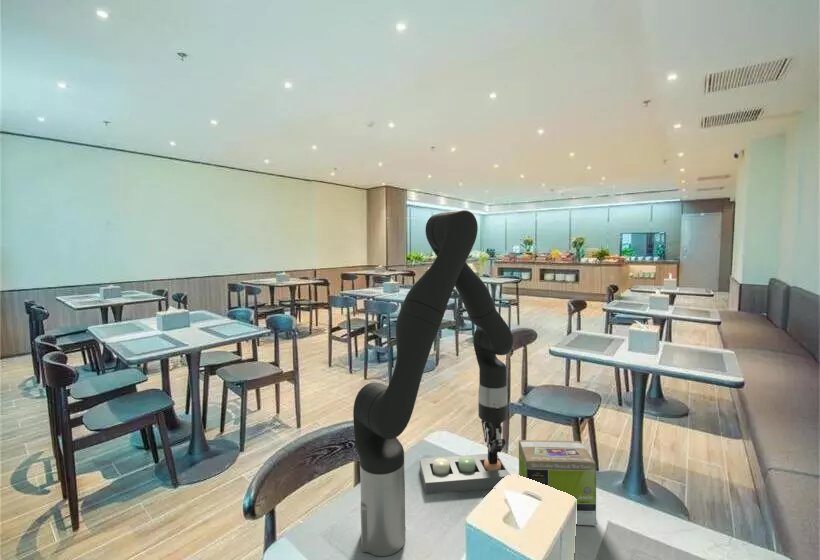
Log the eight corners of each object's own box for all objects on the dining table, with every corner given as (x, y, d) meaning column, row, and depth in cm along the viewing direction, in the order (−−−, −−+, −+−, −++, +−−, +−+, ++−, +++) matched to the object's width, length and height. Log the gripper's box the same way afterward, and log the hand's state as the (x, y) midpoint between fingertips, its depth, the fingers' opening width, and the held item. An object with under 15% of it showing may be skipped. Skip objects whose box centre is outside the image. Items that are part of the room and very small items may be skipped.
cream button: (434, 477, 99) (434, 468, 99) (431, 468, 103) (431, 459, 103) (451, 476, 99) (451, 467, 99) (447, 466, 104) (447, 457, 103)
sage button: (460, 475, 100) (460, 466, 99) (457, 466, 104) (456, 457, 104) (477, 474, 100) (477, 465, 100) (472, 465, 104) (472, 455, 104)
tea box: (580, 497, 93) (582, 439, 92) (596, 527, 83) (598, 463, 82) (517, 494, 95) (518, 437, 94) (525, 523, 85) (526, 460, 84)
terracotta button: (486, 477, 100) (487, 468, 100) (482, 467, 105) (482, 458, 105) (503, 476, 101) (503, 466, 101) (497, 466, 105) (497, 457, 105)
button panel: (425, 494, 95) (425, 482, 95) (419, 469, 106) (419, 458, 106) (510, 487, 98) (510, 475, 98) (496, 463, 109) (496, 453, 108)
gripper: (472, 391, 107) (472, 450, 109) (486, 411, 94) (486, 478, 96) (498, 390, 108) (497, 448, 110) (516, 410, 95) (515, 476, 97)
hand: (492, 462), depth 103 cm, fingers closed
